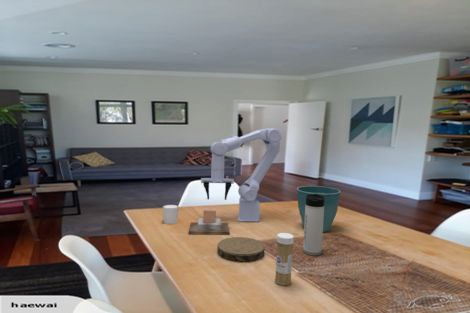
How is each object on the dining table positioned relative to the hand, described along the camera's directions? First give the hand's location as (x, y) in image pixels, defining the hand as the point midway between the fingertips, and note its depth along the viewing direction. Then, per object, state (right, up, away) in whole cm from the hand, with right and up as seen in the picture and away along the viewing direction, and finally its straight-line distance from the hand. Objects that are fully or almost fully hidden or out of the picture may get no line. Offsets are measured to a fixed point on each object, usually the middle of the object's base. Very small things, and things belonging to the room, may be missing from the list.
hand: (216, 199), depth 146 cm
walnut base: (-2, -11, -12) cm, 17 cm away
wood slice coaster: (+10, -14, -35) cm, 39 cm away
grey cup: (-20, -10, -3) cm, 23 cm away
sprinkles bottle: (+21, -16, -55) cm, 62 cm away
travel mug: (+35, -14, -33) cm, 50 cm away
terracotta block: (-2, -7, -12) cm, 14 cm away
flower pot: (+43, -12, -5) cm, 45 cm away
